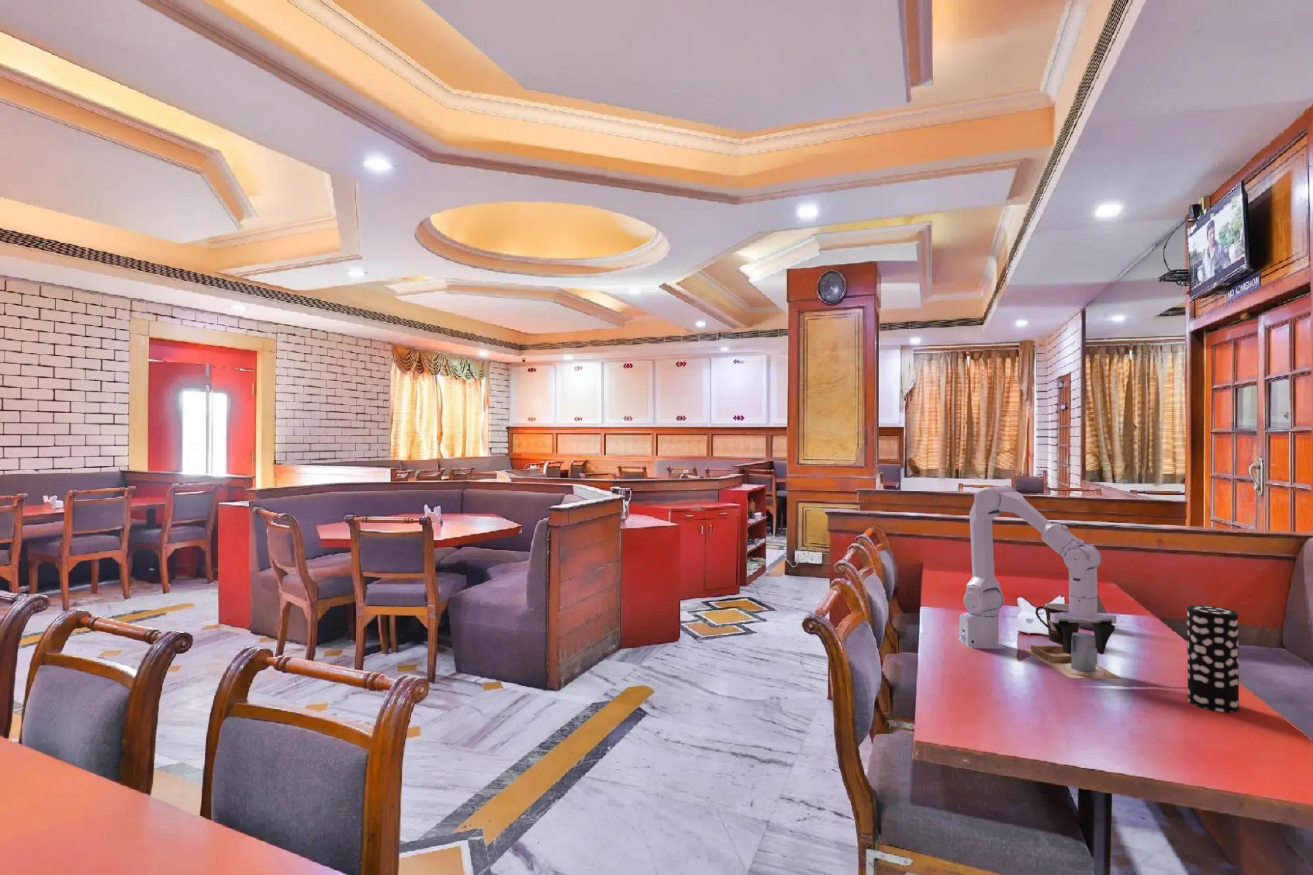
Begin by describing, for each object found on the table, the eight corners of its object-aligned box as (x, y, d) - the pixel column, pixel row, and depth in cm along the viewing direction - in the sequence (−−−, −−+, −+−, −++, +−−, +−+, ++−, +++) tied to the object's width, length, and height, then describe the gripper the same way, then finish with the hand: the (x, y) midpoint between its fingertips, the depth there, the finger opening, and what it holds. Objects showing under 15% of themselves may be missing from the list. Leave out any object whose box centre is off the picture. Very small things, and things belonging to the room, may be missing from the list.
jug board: (1069, 680, 156) (1069, 670, 156) (1022, 651, 178) (1022, 642, 178) (1122, 681, 156) (1122, 671, 156) (1068, 651, 177) (1068, 643, 178)
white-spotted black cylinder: (1230, 700, 144) (1229, 607, 144) (1245, 715, 136) (1244, 616, 136) (1182, 694, 147) (1182, 603, 147) (1194, 708, 140) (1193, 612, 140)
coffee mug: (1088, 647, 181) (1088, 610, 181) (1056, 647, 181) (1055, 610, 181) (1063, 635, 193) (1062, 600, 193) (1032, 635, 193) (1032, 600, 193)
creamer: (1066, 665, 163) (1066, 632, 163) (1087, 665, 163) (1087, 632, 163) (1084, 674, 156) (1083, 640, 156) (1105, 675, 156) (1105, 640, 156)
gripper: (1061, 599, 157) (1061, 657, 157) (1124, 600, 157) (1125, 658, 157) (1045, 592, 164) (1045, 648, 164) (1105, 593, 164) (1106, 648, 164)
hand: (1083, 652), depth 161 cm, fingers open, 7 cm apart
